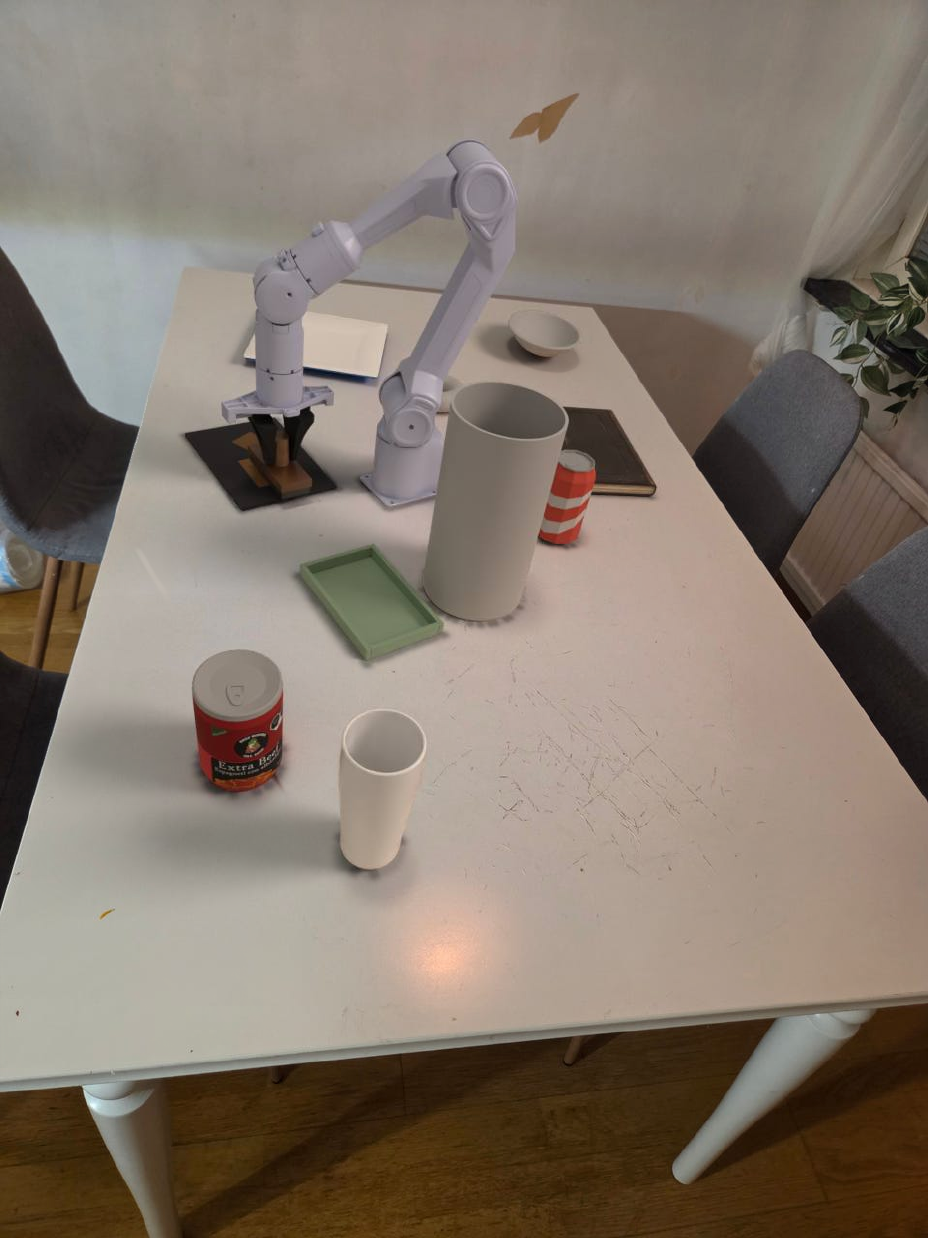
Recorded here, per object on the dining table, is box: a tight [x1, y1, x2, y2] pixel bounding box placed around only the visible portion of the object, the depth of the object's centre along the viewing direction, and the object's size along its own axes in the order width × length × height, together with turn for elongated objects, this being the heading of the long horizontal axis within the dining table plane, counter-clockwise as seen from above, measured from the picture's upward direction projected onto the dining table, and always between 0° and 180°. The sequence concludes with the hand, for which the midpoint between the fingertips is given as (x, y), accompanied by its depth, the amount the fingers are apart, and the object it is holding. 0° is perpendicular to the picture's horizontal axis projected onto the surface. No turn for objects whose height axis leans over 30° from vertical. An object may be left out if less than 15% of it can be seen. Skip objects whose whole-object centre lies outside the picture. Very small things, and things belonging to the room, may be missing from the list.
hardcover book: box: [561, 405, 658, 498], centre depth 129 cm, size 16×23×2 cm
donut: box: [437, 374, 464, 413], centre depth 134 cm, size 10×4×10 cm
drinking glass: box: [337, 708, 428, 870], centre depth 67 cm, size 7×7×15 cm
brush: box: [248, 431, 312, 500], centre depth 107 cm, size 11×4×6 cm, turn 35°
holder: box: [299, 543, 445, 661], centre depth 94 cm, size 10×16×2 cm, turn 35°
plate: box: [242, 310, 389, 380], centre depth 142 cm, size 22×22×2 cm
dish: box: [507, 309, 583, 358], centre depth 155 cm, size 18×14×5 cm
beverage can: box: [538, 450, 596, 545], centre depth 108 cm, size 6×6×12 cm
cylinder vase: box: [422, 380, 569, 622], centre depth 92 cm, size 12×12×25 cm
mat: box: [184, 417, 338, 512], centre depth 113 cm, size 14×20×1 cm
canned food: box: [191, 648, 284, 792], centre depth 72 cm, size 8×8×11 cm
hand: (279, 459), depth 107 cm, fingers closed on brush, 2 cm apart
